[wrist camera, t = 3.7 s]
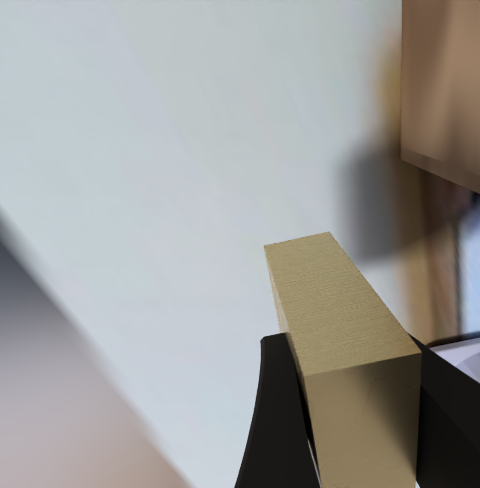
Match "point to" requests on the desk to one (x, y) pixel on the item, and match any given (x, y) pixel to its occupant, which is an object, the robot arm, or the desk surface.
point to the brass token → (347, 366)
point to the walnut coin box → (441, 89)
